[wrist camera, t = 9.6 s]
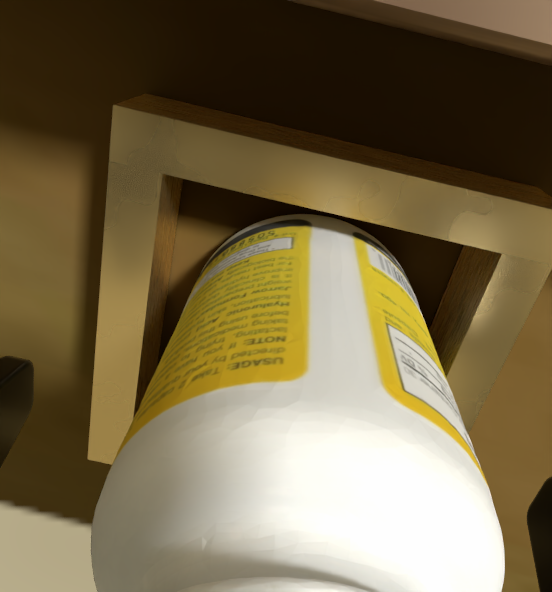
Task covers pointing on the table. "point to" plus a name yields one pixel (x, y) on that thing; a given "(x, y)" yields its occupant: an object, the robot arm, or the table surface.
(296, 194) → the frame
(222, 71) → the table surface
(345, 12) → the brown wooden bar
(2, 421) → the robot arm
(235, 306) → the supplement bottle
